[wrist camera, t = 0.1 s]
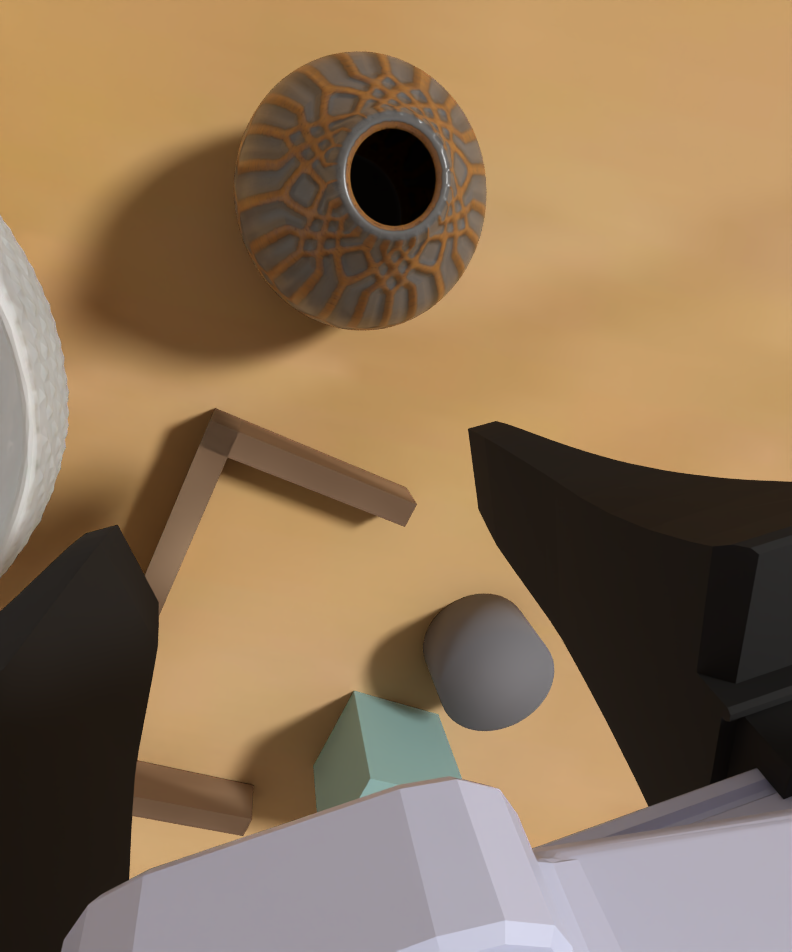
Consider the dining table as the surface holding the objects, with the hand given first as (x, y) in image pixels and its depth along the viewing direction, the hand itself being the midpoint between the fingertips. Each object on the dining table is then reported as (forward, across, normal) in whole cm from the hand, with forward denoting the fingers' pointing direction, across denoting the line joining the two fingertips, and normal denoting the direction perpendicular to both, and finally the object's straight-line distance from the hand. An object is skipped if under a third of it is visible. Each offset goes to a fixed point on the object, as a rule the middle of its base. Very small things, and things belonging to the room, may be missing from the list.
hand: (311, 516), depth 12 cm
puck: (+8, -5, +14) cm, 17 cm away
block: (+8, +1, +18) cm, 20 cm away
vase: (+12, -3, -4) cm, 13 cm away
